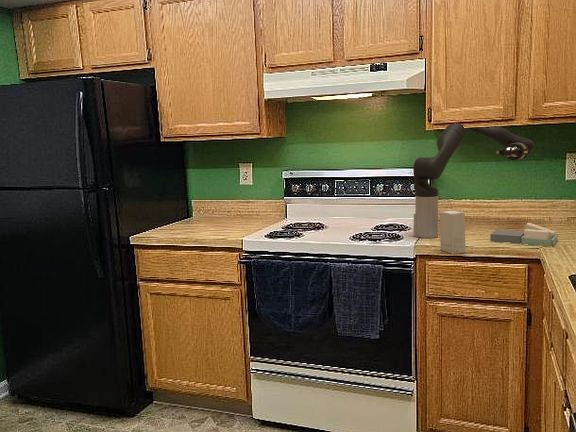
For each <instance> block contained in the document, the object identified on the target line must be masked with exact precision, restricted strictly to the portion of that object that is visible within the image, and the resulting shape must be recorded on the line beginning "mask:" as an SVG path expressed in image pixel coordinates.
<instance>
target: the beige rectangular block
mask: <svg viewBox="0 0 576 432" xmlns="http://www.w3.org/2000/svg"><path fill="white" fill-rule="evenodd" d="M526 229H535V230H549V240H552V238H553V236H554V234H556V231H555V230H551V229H550V228H546V227H543V226H540V225H537V224H534V223H532V222H528V223H526V224H525V226H524V229H523V230H522V231H523V234H524V231H525V230H526Z"/></svg>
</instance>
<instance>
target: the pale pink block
mask: <svg viewBox="0 0 576 432" xmlns="http://www.w3.org/2000/svg"><path fill="white" fill-rule="evenodd" d="M549 230H550V229H549ZM549 230H535V229H526V230H525V231H524V230H523V231H524V238H531V239H545V240H549Z"/></svg>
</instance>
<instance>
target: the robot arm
mask: <svg viewBox="0 0 576 432" xmlns="http://www.w3.org/2000/svg"><path fill="white" fill-rule="evenodd" d="M449 124H450V123H449ZM449 124H448V125H447V126H446V127H445V128H444V129H443V131H442V132H441V133H440V135H439V136H438V137H437V140H436V146H437V150H438V153H437V154H436V155H435V156H433V157H432V156H431V157H430V156H429V157H427V156H425V157H418V158H416V159H415V161H414V162H413V168H412V169H413V173H412V174H413V188H414V192H415V195H414V196H415V198H414V199H415V201H414V202H415V203H414V204H415V213H414V214H413V237H417V238H421V239H423V238H424V239H432V238H433V239H434V238H437V237H438V236H439V189H437V188H436V187H434V186H433V185H430V183H429V182H428V180H429V181H431V180H432V181H435V180H437V179H439V178H440V177H441V176H442V174H443V172H444V171H445V169H446V167H447V165H448V163H449V161H450V159H451V158H452V157H453V154H454V153H455V152H456V150H457V149H458V148H459V147H460V145H461V144H462V142H463V140H464V138H465V137H466V135H467V134H468V133H469V131H471V132H474V133H476V134H479V135H481V136H484V137H485V138H488V139H490V140H491V141H493V142H494V143H496V144H499V145H500V146H501V147H503V149H501V148H498V149H496V156H502V157H504V156H505V157H506V158H507V159H508V160H510V161H518V162H523V161H525V160H526V159H527V158H528V156H529V155H530V154H531V153H532V152H533V151H534V150H535V148H536V144H535V143H534V141H533V140H531V139H529V138H525V137H522V136H519V135H517V134H514V133H513V132H511V131H509V130H507V129H506V128H504V127H502V126H499V127H489V128H464V127H463V125H461V124H458V123H457V124H456V123H454V124H450V125H449ZM504 148H505V149H504Z"/></svg>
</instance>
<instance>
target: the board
mask: <svg viewBox="0 0 576 432" xmlns="http://www.w3.org/2000/svg"><path fill="white" fill-rule="evenodd" d="M523 231H524V230H511V229H510V230H509V229H495V230H494V231H492V232H491V233H489V235H490V238H489V240H490V241H495V242H494V243H503V242H510V243H509V244H515V243H521V237H522V236H523V235H524V234H523Z"/></svg>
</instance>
